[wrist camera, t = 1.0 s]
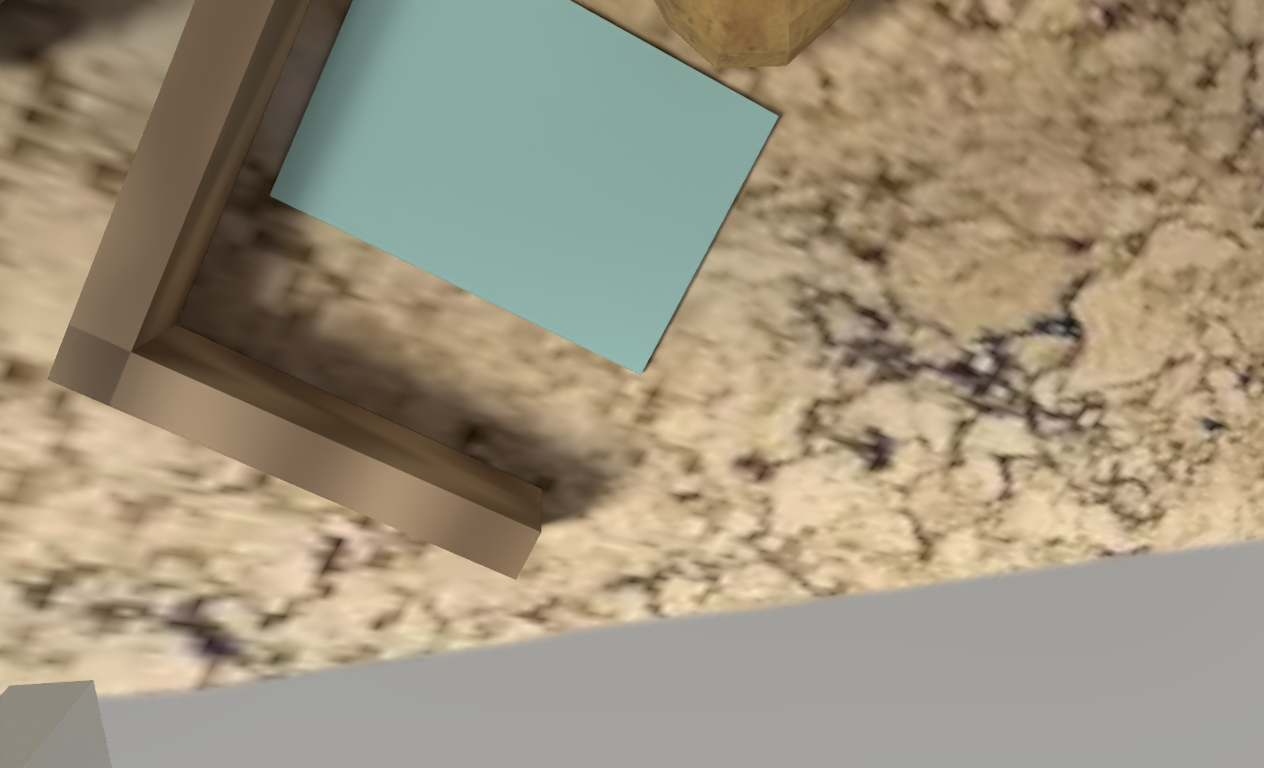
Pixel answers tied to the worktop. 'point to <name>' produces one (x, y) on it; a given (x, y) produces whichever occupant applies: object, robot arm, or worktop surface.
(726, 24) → the potato
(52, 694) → the robot arm
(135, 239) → the corner arena
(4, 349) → the worktop surface
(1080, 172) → the worktop surface
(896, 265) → the worktop surface
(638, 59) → the pad
